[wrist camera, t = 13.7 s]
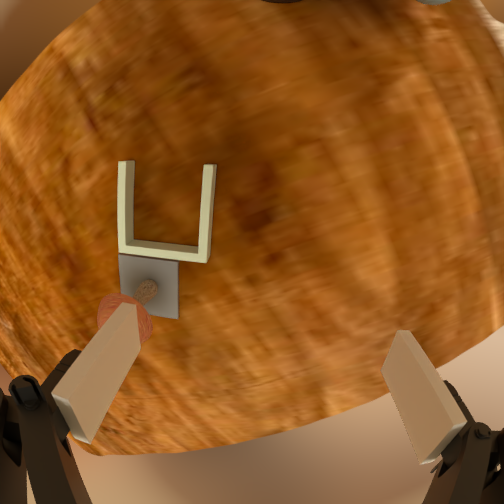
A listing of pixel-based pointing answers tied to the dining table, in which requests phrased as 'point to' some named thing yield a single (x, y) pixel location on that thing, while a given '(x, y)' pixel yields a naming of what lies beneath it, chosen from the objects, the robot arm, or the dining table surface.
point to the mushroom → (139, 299)
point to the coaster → (158, 270)
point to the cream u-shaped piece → (158, 248)
